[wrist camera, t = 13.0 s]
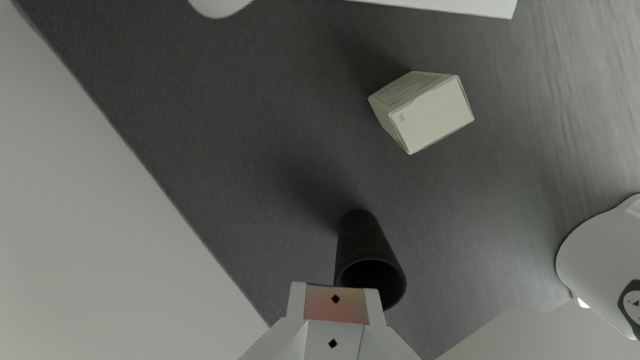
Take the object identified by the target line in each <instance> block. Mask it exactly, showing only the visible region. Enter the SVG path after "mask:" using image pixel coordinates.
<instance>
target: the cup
mask: <svg viewBox="0 0 640 360" xmlns="http://www.w3.org/2000/svg"><path fill="white" fill-rule="evenodd" d="M406 285H407V282H406V276H405V274H404V272H403V270H402V268H401V266H400V264H399V262H398V260H397V259H396V257H395V255H394V253H393V251H392V249H391V247H390V245H389V243H388V241H387V239H386V237H385V235H384V233H383V231H382V229H381V227H380V225H379V223H378V221H377V219H376V218H375V217H374V215H373V214H371V213H370V212H367V211H364V210H355V211H351V212H349V213H347V214H346V215H345V216H344V217H343V218H342V219H341V221H340V224H339V233H338V243H337V253H336V263H335V274H334V286H342V287H354V288H369V289H377V290H378V292H379V296H380V300H381V305H382V309H383V312H384V311H386V310H388V309H390V308H392V307H393V306H395V305H396V304H397V303H398V302H399V301H400V300H401V299H402V297H403V295H404V293H405V291H406Z"/></svg>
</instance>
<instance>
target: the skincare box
mask: <svg viewBox="0 0 640 360" xmlns="http://www.w3.org/2000/svg"><path fill="white" fill-rule="evenodd" d="M367 99H368V101H369V103H370V105H371V107H372V109H373V111H374V113H375V115H376V117H377V119H378V121H379V123H380V124H381V126H382V127H383V128H384V129H385V130H386V132H387V133H388V134H389V135H390V136H391V137H392V138H393V139H394V140H395V141H396V142H397V143H398V144H399V145H400V146H401V147H402V148H403V149H404V150H405V151H406V152H407V153H408V154H409V155H411V154H413V153H416V152H418V151H420V150H422V149H424V148H426V147H428V146H430V145H432V144H434V143H435V142H437V141H439V140H441V139H443V138H444V137H446V136H448V135H450V134H452V133H453V132H455V131H457V130H459V129H460V128H462V127H464V126H466V125H467V124H469V123H471V122H472V121H474V116H473V114H472V111H471V108H470V105H469V102H468V99H467V97H466V94H465V91H464V89H463V86H462V84H461V81H460V79H459V76H458V75H450V74H440V73H430V72H420V71H411V72H409V73H407V74H405V75H403V76H402V77H400V78H398V79H397V80H395V81H393V82H391V83H390V84H388V85H387V86H385V87H383V88H382V89H380V90H378V91H377V92H375V93H374V94H372V95H371V96H369V97H368V98H367Z"/></svg>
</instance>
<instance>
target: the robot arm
mask: <svg viewBox="0 0 640 360" xmlns="http://www.w3.org/2000/svg"><path fill="white" fill-rule="evenodd" d="M556 271H557V275H558V277H559V278H560V280H561V281H562V282H563V283H564V284H565V285H566V286H567V287H568V288H569V289H570V290H571V292H572V296H573V299H574V301H575V302H576V303H577V304H578V305H580V306H581V307H583V308H591V309H593V310H594V311H595V312H596V313H598V314H599V315H600V316H601V317H602V318H604V319H605V320H606V321H607V322H609V323H610V324H611V325H612V326H614V327H615V328H616V329H617V330H619V331H620V332H621V333H622V334H624V335H625V336H626V337H628V338H630V339H636V340H639V341H640V194H636V195H633V196H631V197H630V198H628V199H627V200H625V201H624V202H622V203H621V204H620V205H618V206H617V207H616V208H614V209H612V210H610V211H607V212H604V213H602V214H599V215H597V216H595V217H593V218H591V219H589V220H587V221H586V222H584V223H583V224H581V225H580V226H579V227H577V228H576V229H575V230H574V231H573V232H572V233H571V234H570V235H569V236H568V237H567V238H566V240H565V241H564V242H563V244H562V246H561V247H560V249H559V252H558V255H557V258H556ZM238 360H422V359H421V358H420V357H419V356H418V355H417V354H416V353H415V352H414V351H413V350H412V349H411V348H410V347H409V346H408V345H407V344H406V343H405V342H404V341H403V340H402V339H401V337H400V336H399V335H398V334H397V333H396V332H395V331H394V330H393V329H392V328H391V327H386V322H385V318H384V314H383V309H382V305H381V300H380V296H379V292H378V290H377V289H369V288H354V287H342V286H332V285H324V284H315V283H307V285H306V283H305V282H297V281H292V283H291V288H290V295H289V302H288V308H287V315H286V318H284V317H281V318H280V319H279V320H278V321H277V322H276V323H275V324H274V325H273V326H272V327H271V328H270V329H269V330H268V331H267V332H266V333H265V334H264V335H263V336H262V337H261V338H260V339H259V340H258V341H256V342H255V343H254V344H253V345H252V346H251V347H250V348H249V349H248V350H247V351H246V352H245V353H244V354H243V355H242V356H241V357H240V358H239V359H238Z"/></svg>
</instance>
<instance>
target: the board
mask: <svg viewBox="0 0 640 360" xmlns="http://www.w3.org/2000/svg"><path fill="white" fill-rule="evenodd" d="M346 1H355V2H363V3H372V4H380V5H389V6H397V7H406V8H414V9H423V10H431V11H439V12H448V13H456V14H465V15H473V16H482V17H490V18H499V19H507V20H508V19H512V16H513V13H514V9H515V6H516V3H517V0H346Z"/></svg>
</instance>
